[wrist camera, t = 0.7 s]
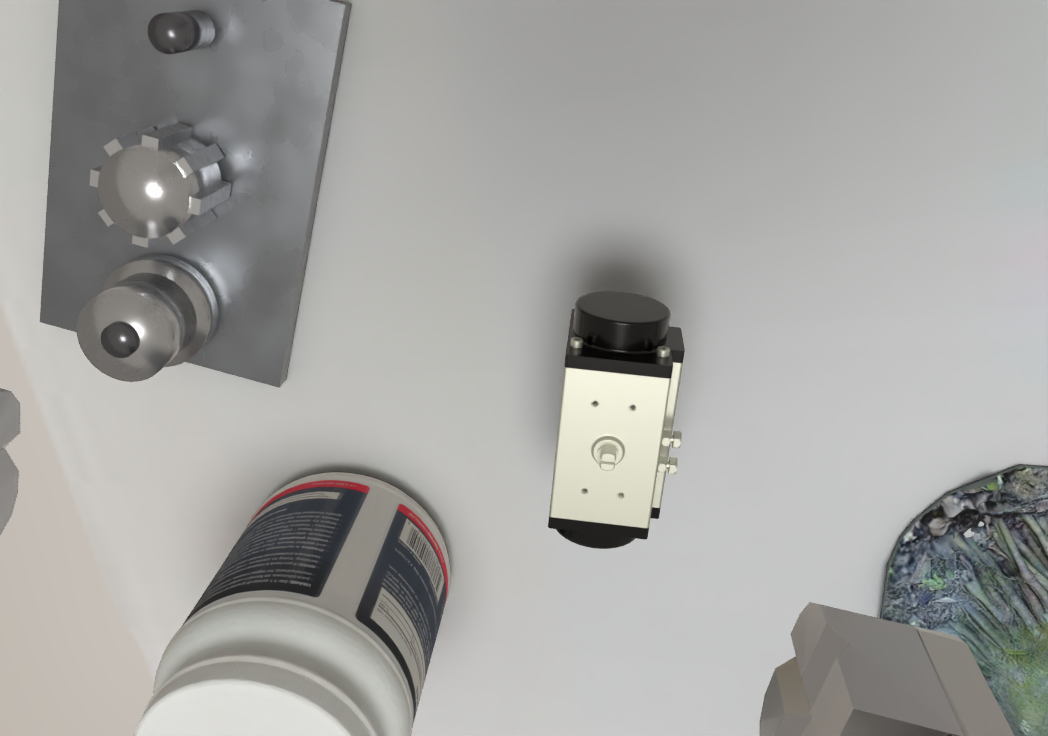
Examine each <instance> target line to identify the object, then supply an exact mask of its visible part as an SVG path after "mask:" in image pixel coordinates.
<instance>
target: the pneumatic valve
mask: <svg viewBox="0 0 1048 736" xmlns="http://www.w3.org/2000/svg"><path fill="white" fill-rule="evenodd" d="M669 320H670V310H669V309H668V308H667V307H666V306H665V305H664V304H662V303H661V302H659V301H656V300H654V299H651V298H648V297H645V296H641V295H637V294H631V293H624V292H595V293H590V294H586V295H584V296H582V297H580V298H579V299H578V300H577V301H576V305H575V309H572V314H571V321H570V328H569V335H568V342H567V349H566V357H565V367H564V377H563V387H562V396H561V406H560V416H559V426H558V435H557V445H556V455H555V464H554V474H553V484H552V494H551V503H550V513H549V523H548V527H549V528H554V529H556V530H557V531H558V532H559V533H560V534H561V535H562V536H563V537H565V538H566V539H568V540H569V541H571V542H574V543H576V544H579V545H582V546H586V547H591V548H599V549H608V548H616V547H620V546H624V545H626V544H628V543H630V542H631V541H633V540H634V539H635V538H639V539H647V537H648V530H649V524H650V518H655V519H658V518H659V513H660V507H661V500H662V494H663V487H664V481H665V474H666V469H668V473H670V474H676V470H677V458H674V457H670V458H669V461H668V455H669V448H670V443H672V447H673V448H680V444H681V432H680V431H674V432H673V435H672V429H673V423H674V416H675V410H676V403H677V397H678V390H679V384H680V377H681V371H682V364H683V358H684V351H685V350H684V344H683V338H682V332H681V328H678V327H669Z"/></svg>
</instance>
